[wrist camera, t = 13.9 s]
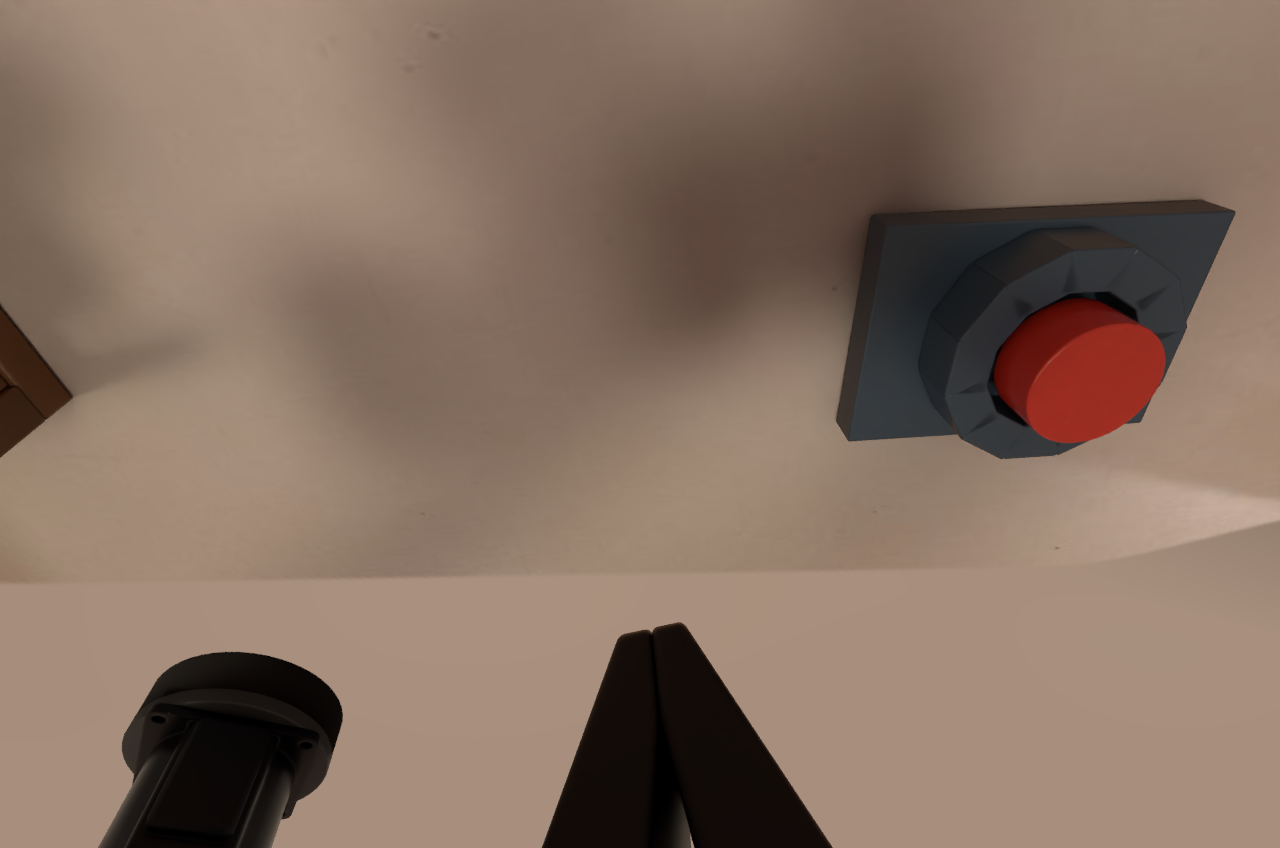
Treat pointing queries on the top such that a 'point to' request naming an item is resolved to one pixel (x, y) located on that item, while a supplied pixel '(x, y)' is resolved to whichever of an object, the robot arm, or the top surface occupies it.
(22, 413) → the window frame
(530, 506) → the top surface
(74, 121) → the top surface
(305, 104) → the top surface
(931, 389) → the button box
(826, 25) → the top surface
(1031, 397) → the button
